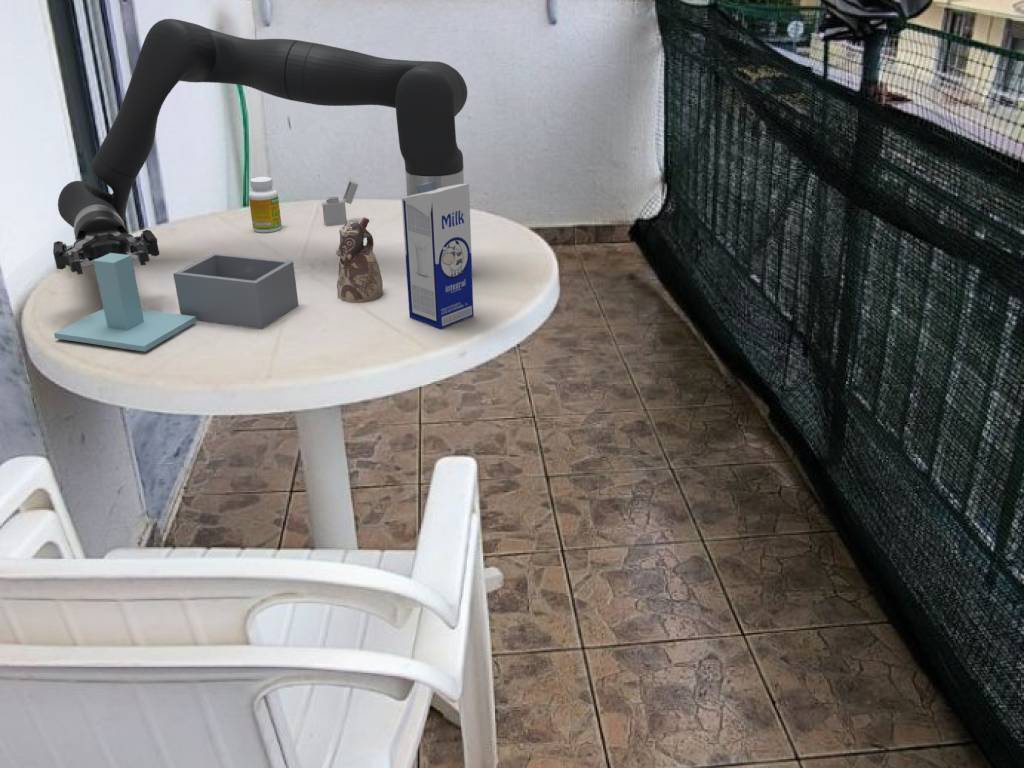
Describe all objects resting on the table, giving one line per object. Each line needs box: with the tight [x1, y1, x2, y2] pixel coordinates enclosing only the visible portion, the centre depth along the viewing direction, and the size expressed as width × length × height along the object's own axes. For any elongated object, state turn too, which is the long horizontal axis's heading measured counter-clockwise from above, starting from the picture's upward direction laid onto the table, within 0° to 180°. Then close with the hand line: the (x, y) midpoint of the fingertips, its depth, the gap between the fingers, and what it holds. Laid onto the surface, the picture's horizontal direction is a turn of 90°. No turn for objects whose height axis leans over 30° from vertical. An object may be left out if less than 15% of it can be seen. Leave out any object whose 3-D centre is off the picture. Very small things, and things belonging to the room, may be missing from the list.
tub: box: [173, 252, 299, 330], centre depth 141 cm, size 14×10×7 cm
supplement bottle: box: [248, 176, 282, 234], centre depth 179 cm, size 5×5×10 cm
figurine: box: [335, 217, 384, 303], centre depth 146 cm, size 7×7×12 cm
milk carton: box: [400, 181, 474, 330], centre depth 135 cm, size 7×7×20 cm
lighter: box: [321, 180, 359, 227], centre depth 183 cm, size 7×2×8 cm, turn 116°
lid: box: [53, 253, 197, 352], centre depth 133 cm, size 15×11×11 cm
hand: (111, 263), depth 134 cm, fingers open, 8 cm apart
